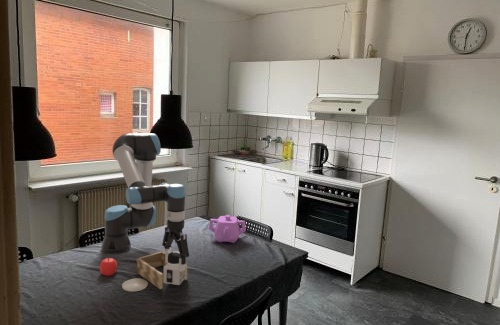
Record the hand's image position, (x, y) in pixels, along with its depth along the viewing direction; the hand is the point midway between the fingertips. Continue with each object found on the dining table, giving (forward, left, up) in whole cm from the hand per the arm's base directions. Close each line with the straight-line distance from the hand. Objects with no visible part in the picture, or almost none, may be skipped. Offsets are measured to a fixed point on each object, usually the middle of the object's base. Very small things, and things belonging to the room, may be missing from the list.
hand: (174, 266), depth 171 cm
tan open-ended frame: (-11, 0, -9) cm, 14 cm away
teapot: (-27, +55, -9) cm, 62 cm away
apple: (-29, -18, -9) cm, 35 cm away
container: (0, 0, -7) cm, 7 cm away
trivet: (-11, -14, -9) cm, 20 cm away
